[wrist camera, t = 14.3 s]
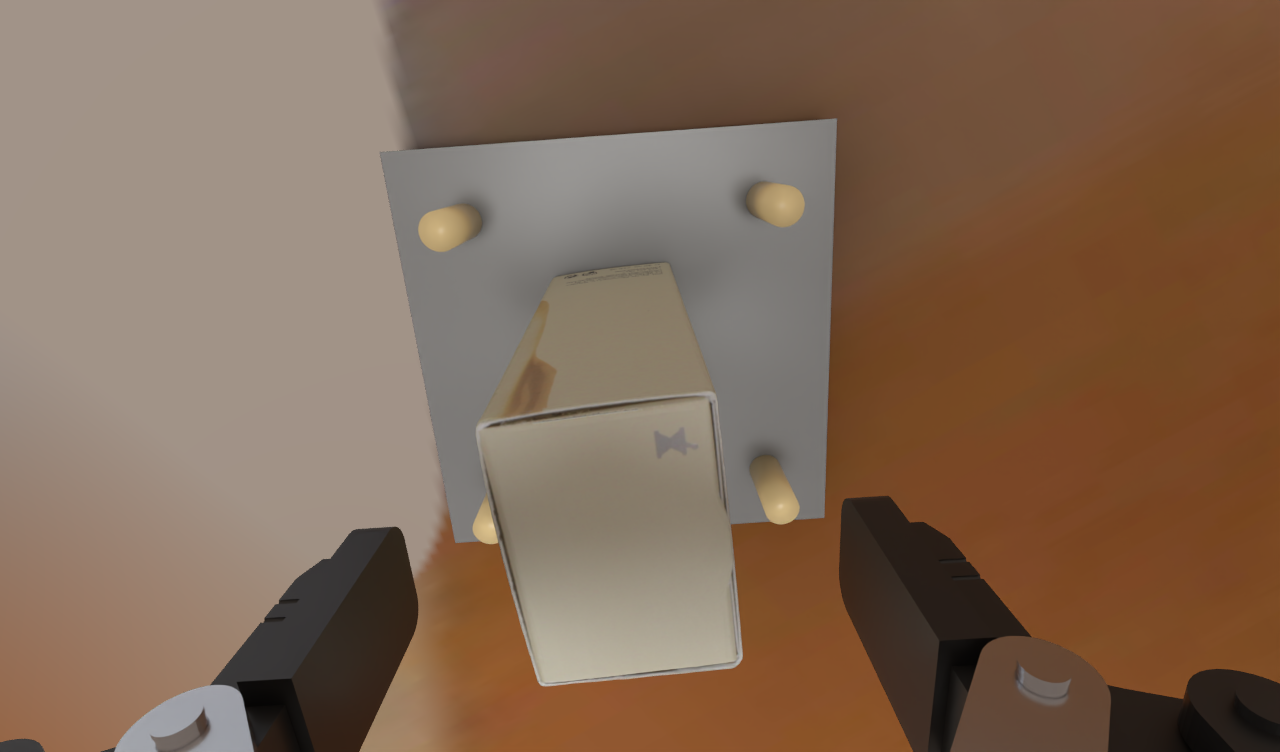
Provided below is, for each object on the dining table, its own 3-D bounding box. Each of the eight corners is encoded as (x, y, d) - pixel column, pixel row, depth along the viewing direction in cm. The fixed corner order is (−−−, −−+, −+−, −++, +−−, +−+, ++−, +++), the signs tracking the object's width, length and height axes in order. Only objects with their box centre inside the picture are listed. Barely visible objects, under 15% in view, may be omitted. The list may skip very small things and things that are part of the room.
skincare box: (548, 274, 22) (459, 404, 10) (672, 258, 22) (719, 371, 10) (578, 440, 24) (531, 701, 13) (691, 426, 24) (748, 675, 12)
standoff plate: (823, 120, 22) (870, 112, 18) (813, 498, 27) (848, 562, 23) (395, 152, 22) (339, 151, 18) (464, 522, 27) (433, 590, 23)
